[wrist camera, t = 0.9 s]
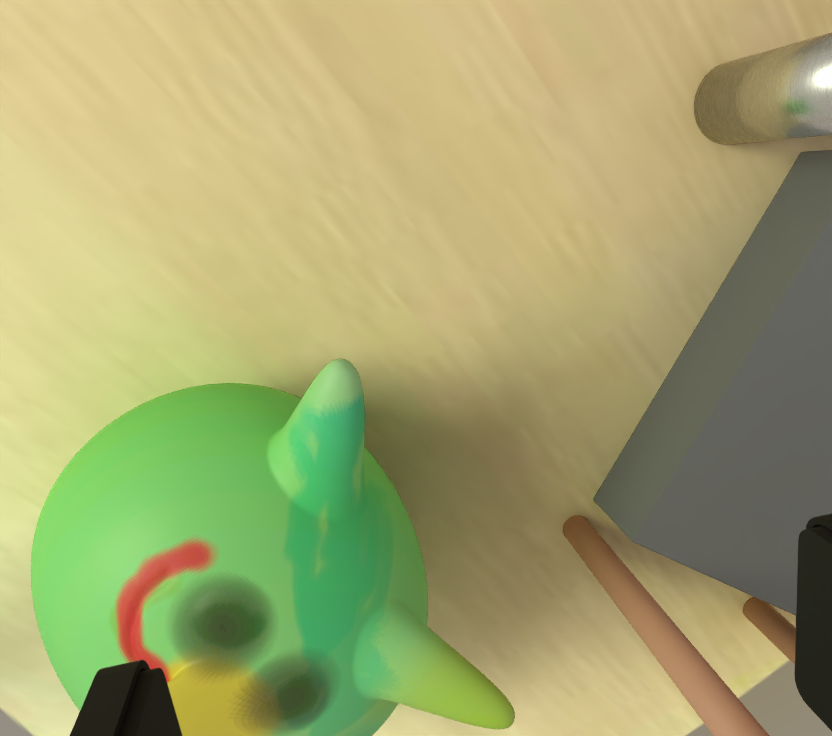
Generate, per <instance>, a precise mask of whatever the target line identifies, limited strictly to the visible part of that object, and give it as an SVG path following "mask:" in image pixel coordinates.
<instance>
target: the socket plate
mask: <svg viewBox="0 0 832 736" xmlns="http://www.w3.org/2000/svg"><path fill="white" fill-rule="evenodd" d="M593 500H594V501H595V502H596V503H597V504H598V505H599V506H600V507H601V508H602V510H603V511H604V512H605V513H606V514H607V515H608V516H609V517H610V518H611V519H612V520H613V521H614V523H615V524H616V525H617V526H618V527H619V528H620V529H621V530H622V531H623V532H624V533H625V535H626V536H627V537H628V538H629V539H630V540H631V541H632V542H634V543H636V544H639V545H641V546H643V547H645V548H647V549H650V550H652V551H654V552H656V553H658V554H661V555H663V556H665V557H667V558H670V559H672V560H674V561H676V562H678V563H681V564H683V565H685V566H687V567H690V568H692V569H694V570H696V571H698V572H701V573H703V574H705V575H707V576H709V577H712V578H714V579H716V580H718V581H721V582H723V583H725V584H727V585H729V586H732V587H734V588H736V589H738V590H740V591H743V592H745V593H747V594H749V595H752V596H754V597H756V598H758V599H760V600H763V601H765V602H767V603H769V604H772V605H774V606H776V607H778V608H780V609H783V610H785V611H787V612H789V613H791V614H794V615H796V607H797V569H798V539H799V534H800V533H801V531H803V530H805V529H806V525H807V523H808V521H809V520H810V519H812V518H813V517H817V516H822V515H827V514H831V513H832V150H826V151H810V152H801V154H800V155H799V157H798V159H797V160H796V162H795V164H794V165H793V167H792V169H791V170H790V172H789V174H788V175H787V177H786V179H785V180H784V182H783V184H782V185H781V187H780V189H779V190H778V192H777V194H776V195H775V197H774V199H773V200H772V202H771V204H770V205H769V207H768V209H767V210H766V212H765V214H764V215H763V217H762V219H761V220H760V222H759V224H758V225H757V227H756V229H755V230H754V232H753V234H752V235H751V237H750V239H749V240H748V242H747V244H746V245H745V247H744V249H743V250H742V252H741V254H740V255H739V257H738V259H737V260H736V262H735V264H734V265H733V267H732V269H731V270H730V272H729V274H728V275H727V277H726V279H725V280H724V282H723V284H722V285H721V287H720V289H719V290H718V292H717V294H716V295H715V297H714V299H713V300H712V302H711V304H710V305H709V307H708V309H707V310H706V312H705V314H704V315H703V317H702V319H701V320H700V322H699V324H698V325H697V327H696V329H695V330H694V332H693V334H692V336H691V337H690V339H689V341H688V342H687V344H686V346H685V347H684V349H683V351H682V352H681V354H680V356H679V357H678V359H677V361H676V362H675V364H674V366H673V367H672V369H671V371H670V372H669V374H668V376H667V377H666V379H665V381H664V382H663V384H662V386H661V387H660V389H659V391H658V392H657V394H656V396H655V397H654V399H653V401H652V402H651V404H650V406H649V407H648V409H647V411H646V412H645V414H644V416H643V417H642V419H641V421H640V422H639V424H638V426H637V427H636V429H635V431H634V432H633V434H632V436H631V437H630V439H629V441H628V442H627V444H626V446H625V447H624V449H623V451H622V452H621V454H620V456H619V457H618V459H617V461H616V462H615V464H614V466H613V467H612V469H611V471H610V472H609V474H608V476H607V477H606V479H605V481H604V482H603V484H602V486H601V487H600V489H599V491H598V492H597V494H596V496H595V497H594V499H593Z"/></svg>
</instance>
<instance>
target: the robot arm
mask: <svg viewBox="0 0 832 736" xmlns="http://www.w3.org/2000/svg"><path fill="white" fill-rule="evenodd" d="M795 682H796V686H797V689H798V691H799V693H800V695H801V697H802V698H803V700H804V701H805V703H806V704H807V705H808V706H809V707H810V708H811V709H812V710H813V712H814V713H815V714H816V715H817V716H818V717H819V718H820V719H821V720H822V721H823V722H824V723H825V724H826V725H827V726H828V728H829V729H830V730H831V731H832V513H831V514H827V515H822V516H817V517H813V518H812V519H810V520H809V521H808V523H807V525H806V529H805V530H803V531H801V533H800V534H799V539H798V569H797V607H796V644H795ZM70 736H182V732H181V729H180V725H179V722H178V719H177V715H176V712H175V708H174V705H173V701H172V698H171V695H170V691H169V688H168V684H167V681H166V677H165V675H164V672H163V670H162V669H161V668H155V669H150V668H149V665H148V664H147V662H146V661H144V660H139V661H134V662H129V663H124V664H120V665H115V666H110V667H106V668H101V669H100V670H98V671H97V673H96V675H95V677H94V679H93V682H92V684H91V686H90V689H89V691H88V694H87V696H86V698H85V701H84V703H83V706H82V708H81V710H80V713H79V715H78V718H77V720H76V722H75V725H74V727H73V730H72V732H71V734H70Z"/></svg>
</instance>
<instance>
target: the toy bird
mask: <svg viewBox="0 0 832 736" xmlns="http://www.w3.org/2000/svg"><path fill="white" fill-rule="evenodd" d="M364 439H365V412H364V396H363V388H362V383H361V379H360V376H359V374H358V371H357V370H356V368H355V367H354V366H353V364H351V363H350V362H349V361H347V360H345V359H336V360H333V361H332V362H330V363H329V364H327V365H326V366H325V367H324V368H323V369H322V371H321V372H320V373H319V374H318V375H317V377H316V378H315V379H314V381H313V382H312V384H311V385H310V387H309V388H308V390H307V391H306V393H305V394H304V396H303V397H302V399H300V398H298V397H296V396H294V395H291V394H288V393H286V392H283V391H280V390H276V389H272V388H268V387H264V386H258V385H251V384H239V383H222V384H209V385H202V386H196V387H191V388H186V389H182V390H178V391H175V392H171V393H168V394H165V395H163V396H160V397H157V398H155V399H152V400H150V401H148V402H146V403H144V404H142V405H140V406H138V407H136V408H134V409H132V410H130V411H129V412H127V413H125V414H124V415H122V416H120V417H119V418H117V419H116V420H114V421H113V422H111V423H110V424H109V425H107V426H106V427H105V428H104V429H102V430H101V431H100V432H99V433H97V434H96V435H95V436H94V437H93V438H92V439H91V440H90V441H88V442H87V443H86V444H85V445H84V446H83V447H82V448H81V450H80V451H79V452H78V453H77V454H76V455H75V456H74V457H73V459H72V460H71V461H70V462H69V463H68V465H67V466H66V467H65V469H64V470H63V472H62V473H61V474H60V476H59V478H58V479H57V481H56V482H55V484H54V486H53V487H52V489H51V491H50V493H49V495H48V497H47V499H46V501H45V504H44V506H43V509H42V511H41V514H40V517H39V520H38V523H37V527H36V531H35V535H34V540H33V547H32V555H31V588H32V597H33V604H34V610H35V615H36V619H37V623H38V627H39V631H40V634H41V637H42V640H43V643H44V646H45V649H46V651H47V654H48V656H49V659H50V661H51V663H52V665H53V667H54V670H55V672H56V674H57V676H58V677H59V679H60V681H61V683H62V685H63V686H64V688H65V690H66V691H67V693H68V695H69V696H70V698H71V699H72V701H73V702H74V704H75V705H76V706H77V708H78V709H79V710H81V708H82V706H83V703H84V701H85V698H86V696H87V694H88V691H89V689H90V686H91V684H92V682H93V679H94V677H95V675H96V673H97V671H98V670H100V669H101V668H106V667H110V666H115V665H120V664H124V663H129V662H134V661H139V660H144V661H146V662H147V664H148V665H149V668H150V669H155V668H161V669H162V670H163V672H164V675H165V677H166V681H167V684H168V688H169V691H170V695H171V698H172V701H173V705H174V708H175V712H176V715H177V719H178V722H179V725H180V729H181V732H182V736H372V735H373V734H374V733H375V732H376V731H377V730H378V729H379V728H380V727H381V726H382V725H383V723H384V722H385V721H386V720H387V718H388V717H389V716H390V715H391V713H392V712H393V710H394V709H395V708H396V706H397V705H398V703H400V704H403V705H406V706H410V707H413V708H416V709H419V710H423V711H426V712H429V713H432V714H435V715H439V716H442V717H445V718H449V719H452V720H455V721H459V722H463V723H466V724H470V725H474V726H479V727H484V728H490V729H505V728H508V727H510V726H511V725H512V724H513V722H514V718H515V713H514V709H513V707H512V705H511V703H510V702H509V701H508V699H507V698H506V697H505V695H504V694H503V693H502V692H501V691H500V690H499V689H498V688H497V687H496V686H495V685H494V684H493V683H492V682H491V681H490V680H489V679H488V678H487V677H486V676H485V675H483V674H482V673H481V672H480V671H479V670H478V669H477V668H476V667H474V666H473V665H472V664H471V663H470V662H469V661H467V660H466V659H465V658H464V657H463V656H462V655H460V654H459V653H458V652H457V651H456V650H454V649H453V648H452V647H451V646H450V645H448V644H447V643H446V642H445V641H444V640H442V639H441V638H440V637H439V636H438V635H437V634H435V633H434V632H433V631H432V630H431V629H430V628H428V627H427V617H428V592H427V581H426V573H425V567H424V562H423V558H422V553H421V550H420V546H419V542H418V539H417V536H416V533H415V530H414V528H413V525H412V522H411V520H410V518H409V515H408V513H407V511H406V509H405V507H404V505H403V503H402V501H401V499H400V497H399V495H398V493H397V491H396V490H395V488H394V486H393V484H392V483H391V481H390V480H389V478H388V477H387V475H386V474H385V472H384V471H383V469H382V468H381V467H380V465H379V464H378V463H377V461H376V460H375V459H374V457H373V456H372V455H371V454H370V453H369V451H368V450H367V449H366V448H365V447H364Z"/></svg>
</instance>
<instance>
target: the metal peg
mask: <svg viewBox="0 0 832 736" xmlns="http://www.w3.org/2000/svg"><path fill="white" fill-rule="evenodd" d="M694 114H695V119H696V122H697V125H698V127H699V129H700V130H701V132H702V133H703V134H704V135H705V136H706V137H707V138H708V139H710V140H711V141H713V142H716V143H719V144H736V143H747V142H758V141H769V140H779V139H790V138H801V137H812V136H822V135H832V33H829V34H825V35H822V36H818V37H815V38H811V39H808V40H804V41H801V42H797V43H794V44H790V45H787V46H783V47H780V48H776V49H773V50H769V51H766V52H762V53H759V54H755V55H752V56H748V57H745V58H741V59H738V60H734V61H731V62H727V63H724V64H721V65H719V66H717V67H715V68H714V69H712V70H711V71H710V72H709V73H708V74H707V75H706V76H705V77H704V79H703V80H702V82H701V83H700V85H699V87H698V90H697V92H696V96H695V101H694Z"/></svg>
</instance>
